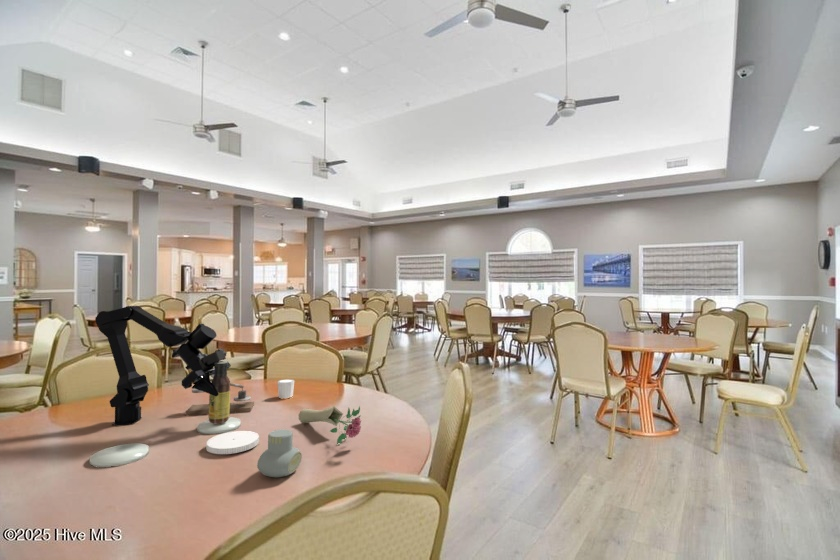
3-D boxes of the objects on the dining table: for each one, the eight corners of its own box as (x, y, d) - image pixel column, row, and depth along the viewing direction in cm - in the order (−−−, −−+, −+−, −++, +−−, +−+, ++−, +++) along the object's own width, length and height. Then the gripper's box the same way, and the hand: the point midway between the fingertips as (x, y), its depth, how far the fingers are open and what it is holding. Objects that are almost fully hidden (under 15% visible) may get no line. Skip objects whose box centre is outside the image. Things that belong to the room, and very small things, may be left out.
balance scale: (185, 415, 147) (186, 379, 147) (192, 408, 154) (193, 374, 155) (250, 411, 152) (251, 377, 152) (254, 405, 159) (254, 372, 160)
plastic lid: (206, 461, 109) (206, 452, 109) (206, 443, 122) (206, 435, 122) (261, 452, 116) (261, 443, 116) (256, 436, 128) (256, 428, 128)
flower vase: (316, 443, 141) (378, 449, 117) (283, 441, 133) (343, 447, 109) (321, 408, 145) (383, 407, 122) (290, 404, 138) (349, 402, 114)
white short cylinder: (289, 400, 168) (289, 383, 168) (274, 399, 169) (274, 382, 169) (297, 395, 174) (297, 379, 174) (282, 394, 176) (283, 378, 176)
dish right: (191, 435, 127) (191, 431, 127) (203, 422, 140) (203, 418, 140) (236, 432, 130) (236, 428, 130) (244, 419, 143) (244, 416, 143)
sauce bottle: (207, 419, 136) (210, 360, 137) (228, 417, 139) (230, 359, 140) (208, 425, 130) (210, 364, 131) (230, 422, 134) (232, 362, 134)
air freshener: (284, 484, 97) (284, 442, 97) (252, 481, 98) (253, 439, 98) (304, 464, 107) (305, 426, 108) (276, 461, 109) (276, 424, 109)
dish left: (78, 469, 103) (78, 464, 103) (105, 449, 116) (105, 445, 116) (136, 465, 106) (136, 460, 106) (156, 445, 119) (156, 441, 119)
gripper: (191, 346, 126) (223, 383, 125) (226, 338, 145) (254, 370, 144) (167, 370, 127) (198, 407, 126) (205, 359, 146) (233, 391, 144)
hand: (223, 392), depth 135 cm, fingers closed on sauce bottle, 6 cm apart
